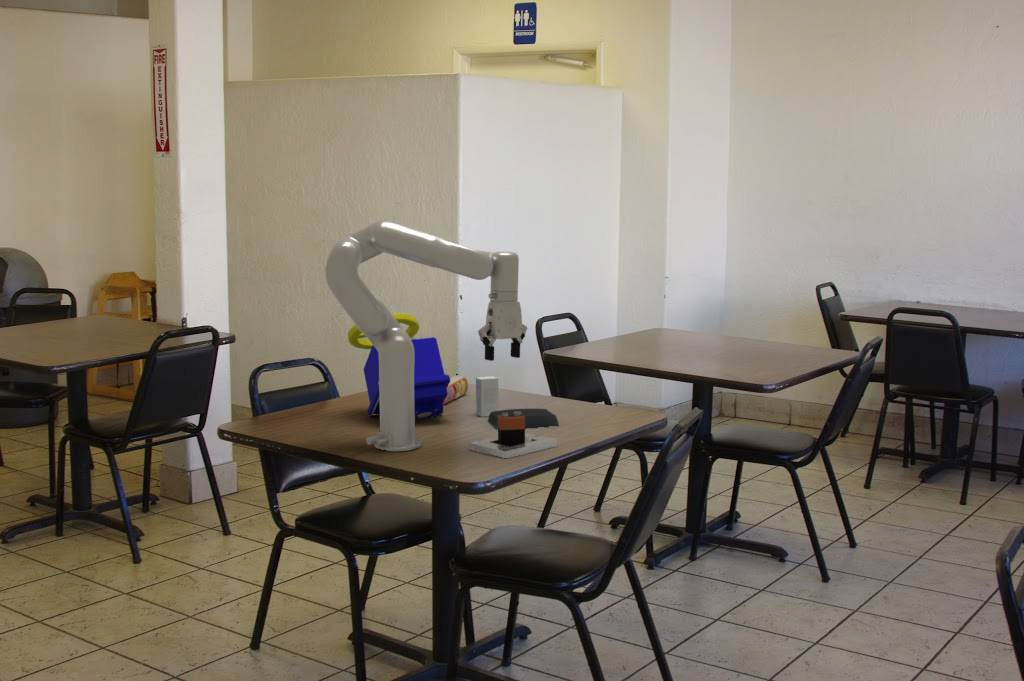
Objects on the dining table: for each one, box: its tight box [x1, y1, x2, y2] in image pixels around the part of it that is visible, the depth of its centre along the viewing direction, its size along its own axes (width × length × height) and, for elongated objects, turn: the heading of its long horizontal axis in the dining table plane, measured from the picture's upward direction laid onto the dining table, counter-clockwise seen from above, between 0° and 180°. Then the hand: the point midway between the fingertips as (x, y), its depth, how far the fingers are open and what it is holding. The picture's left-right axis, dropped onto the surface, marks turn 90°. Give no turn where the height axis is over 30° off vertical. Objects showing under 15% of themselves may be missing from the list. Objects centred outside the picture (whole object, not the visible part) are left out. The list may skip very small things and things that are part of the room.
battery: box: [497, 411, 526, 447], centre depth 304 cm, size 4×7×10 cm, turn 102°
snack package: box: [443, 375, 469, 406], centre depth 373 cm, size 21×7×7 cm, turn 161°
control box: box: [347, 312, 451, 421], centre depth 342 cm, size 26×27×30 cm
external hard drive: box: [487, 407, 560, 430], centre depth 335 cm, size 13×19×4 cm
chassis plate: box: [468, 432, 558, 459], centre depth 304 cm, size 20×14×2 cm
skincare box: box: [475, 375, 500, 418], centre depth 347 cm, size 6×4×12 cm
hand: (502, 358), depth 307 cm, fingers open, 9 cm apart
